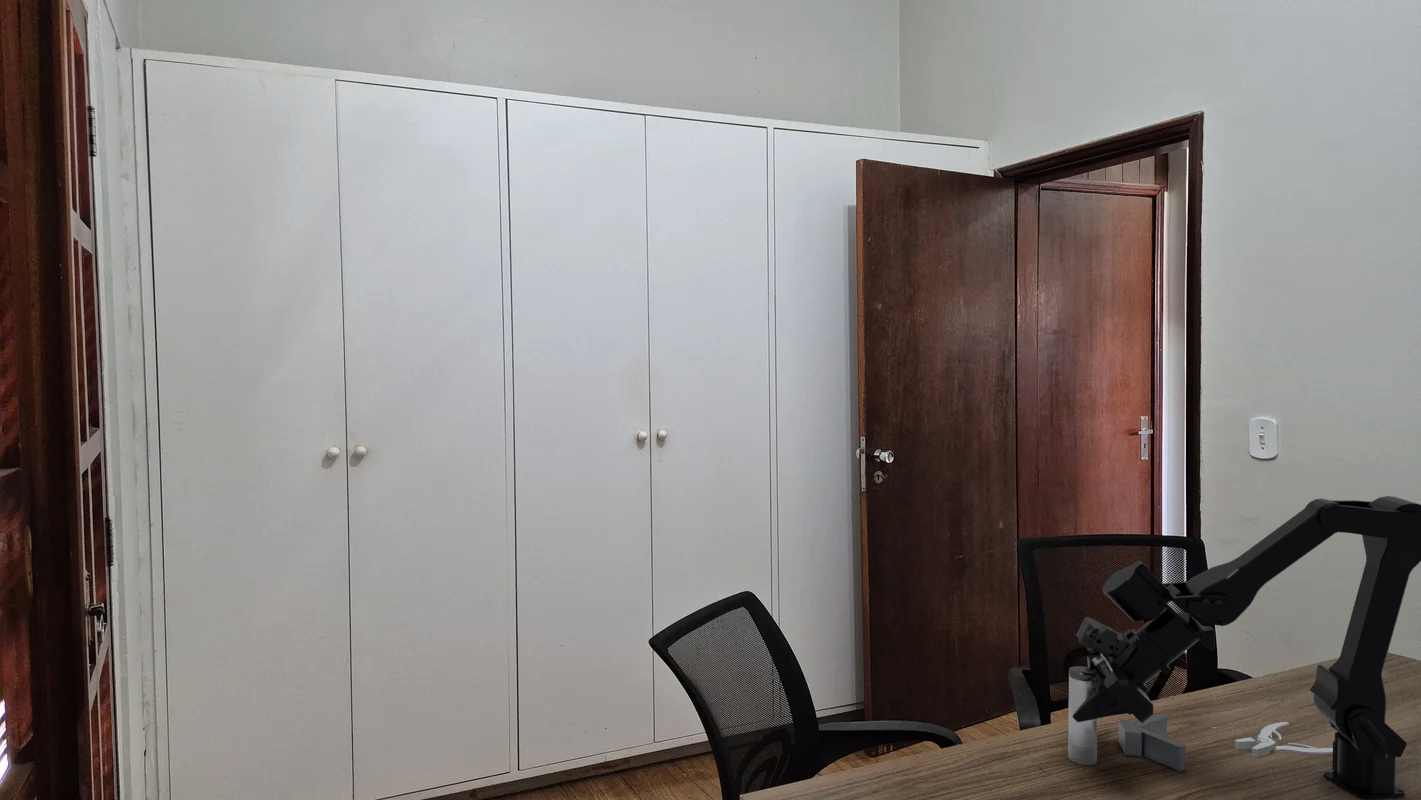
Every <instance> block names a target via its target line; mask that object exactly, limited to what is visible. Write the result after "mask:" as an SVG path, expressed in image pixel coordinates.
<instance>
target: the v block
mask: <svg viewBox="0 0 1421 800" xmlns="http://www.w3.org/2000/svg"><path fill="white" fill-rule="evenodd" d="M1167 730H1168V716H1166V715H1165V714H1164V715H1163V714H1161V713H1158V714H1156V715H1152V716H1151V717H1150V718H1148V719H1147V720H1146V721H1145V722H1143V723H1141V722H1140V721H1139V720H1138V721H1135V720H1129V719H1118V743H1119V746H1120V747H1121V750H1122V752H1123V754H1124V756H1130V757H1139V758H1140V757H1145V758H1146V759H1149V760H1152V761H1153V762H1156V763H1159V764H1162V765H1163V766H1166V767H1168V768H1171V769H1172V770H1175V771H1177V772H1183V771H1185V770H1186V745H1185V744H1183V743H1181V742H1178V741H1175V740H1173V739H1170V738H1167V737H1168V736H1167V735H1168V733H1167V732H1168V731H1167Z"/></svg>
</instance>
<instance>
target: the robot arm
mask: <svg viewBox="0 0 1421 800" xmlns="http://www.w3.org/2000/svg"><path fill="white" fill-rule="evenodd" d="M1336 533H1345V534H1354V535H1360V536H1362V542H1363V547H1364V552H1365V556H1366V557H1365V564H1364V567H1363V571H1362V576H1361V579H1360V582H1359V586H1358V589H1357V594H1356V597H1355V601H1354V604H1353V607H1352V612H1351V615H1350V619H1349V623H1348V626H1347V630H1346V633H1345V637H1344V640H1343V645H1342V648H1341V651H1340V655H1339V657H1338V659H1337V660H1336V661H1335V662H1334V663H1333V664H1332V665H1331V666H1330V667H1326V666H1324V665H1322V664H1318V665H1317V668H1316V675H1315V680H1314V683H1313V685H1312V686H1311V687H1310V688H1309V691H1310V692H1311V693H1312V694H1313V701H1314V706H1316V708H1317V710H1318V711H1319V712H1320V714H1321V715H1323V717H1325V718H1326V720H1328V722H1329V725H1330V727H1331V728H1332V729H1334V730H1335V731H1336V732H1334V740H1333V741H1332V748H1333V754H1332V761H1331V762H1332V764H1331V765H1332V768H1331V769H1332V770H1333V771H1323V777H1324V778H1326V779H1327V780H1329V781H1331V782H1332V783H1334V784H1336V785H1338V786H1339V787H1341V788H1343V789H1345V790H1346V791H1347V792H1349V793H1351V794H1353V795H1355V796H1357V797H1358V798H1360V799H1362V800H1363V799H1365V800H1368V799H1369V800H1370V799H1382V798H1397V797H1405V796H1406V791H1405V790H1403V789H1401V788H1400V787H1397V786H1396V782H1395V781H1396V758H1401V757H1402V755H1403V753H1404V751H1405V749H1406V747H1407V742H1406V741H1405V740H1404V739H1403V738H1402V737H1401V736H1399V733H1397V732H1396V731H1395V730H1394V729H1392V728H1391V727H1390V726H1389V725H1388V724H1387V723H1386V716H1387V715H1386V713H1387V696H1386V691H1385V685H1384V679H1383V670H1384V667H1385V663H1386V660H1387V656H1388V653H1389V650H1390V646H1391V642H1392V638H1393V634H1394V631H1395V627H1396V624H1397V622H1398V621H1397V620H1398V618H1399V614H1400V609H1401V606H1402V603H1403V600H1404V596H1405V593H1406V588H1407V585H1408V581H1409V578H1410V575H1411V572H1412V571H1413V569H1415V568H1416V567H1417V566H1418V565H1419V564H1420V563H1421V504H1420V503H1416V502H1413V501H1410V500H1408V499H1403V498H1400V497H1397V496H1392V495H1391V496H1389V495H1385V496H1382V497H1381V496H1379V497H1378V498H1376V499H1374V500H1371V501H1368V500H1353V499H1352V500H1346V499H1345V500H1343V499H1342V500H1333V499H1328V498H1327V499H1325V498H1317V499H1313V500H1312V501H1310V502H1308V503H1307V504H1306V506H1305V507H1304V508H1303V509H1302V510H1301V511H1299V512H1298V513H1297V514H1295V515H1294V516H1293V517H1291V518H1290V519H1288V520H1286V521H1285V522H1284V523H1283V524H1282V525H1280V526H1279V527H1277V528H1276V529H1275V530H1273V531H1271V532H1270V533H1269V534H1268V535H1267V536H1265V537H1264V538H1263V539H1261V540H1260V541H1258V542H1257V543H1256V544H1254V545H1253V546H1252V547H1250V548H1249V549H1247V550H1246V551H1245V552H1243V553H1242V554H1241V555H1240V556H1238V557H1236V558H1235V559H1233V560H1231V561H1229V562H1225V563H1222V564H1219V565H1216V566H1213V567H1210V568H1208V569H1207V570H1204V571H1203V572H1200V573H1198V574H1196V575H1194V576H1192V577H1191V578H1190V579H1189V580H1187V581H1175V582H1164V583H1163V582H1161V581H1160V580H1159V579H1158V578H1157V577H1155V575H1153V573H1152V571H1150V569H1149V568H1148V567H1147V566H1146V565H1145V564H1144V563H1143V562H1142V561H1141V560H1137V561H1135V563H1133V564H1131V565H1127V566H1126V567H1123V568H1122V569H1120V570H1116V571H1115V572H1114V573H1112V575H1111V576H1109V577H1108V579H1107V580H1106V581H1105V583H1104V584H1103V586H1102V590H1101V591H1102V592H1103V594H1104V595H1105V596H1106V597H1108V598H1109V599H1110V601H1112V602H1113V603H1114V605H1116V606H1117V607H1118V608H1119V609H1120V610H1121V612H1123V614H1126V616H1127V617H1128V618H1129V619H1130V620H1131V621H1133V622H1139V621H1142V622H1143V623H1145V624H1144V625H1143V626H1142V627H1140V628H1139V629H1138V630H1137V631H1135V630H1134V629H1133V628H1131V629H1127V630H1126V631H1124V632H1123V633H1121V632H1118V631H1117V630H1115V629H1113V628H1112V627H1110V626H1108V625H1106V624H1104V623H1101V622H1099V621H1098V620H1095V619H1093V618H1091V617H1089V616H1085V617H1084V619H1083V620H1082V623H1081V624H1080V627H1079V629H1078V630H1077V632H1076V633H1075V636H1076V637H1077V638H1078V643H1080V644H1081V645H1082V646H1084V647H1086V650H1087V652H1088V653H1090V654H1093V655H1094V656H1095V657H1093V659H1092V657H1090V656H1089V655H1087V656H1086V660H1087V667H1088V668H1092V669H1094V670H1096V671H1097V672H1098V675H1096V689H1095V691H1094V692H1093V693H1092V694H1091V695H1090V696H1089V697H1088V698H1087V699H1086V700H1085V702H1084V703H1083V704H1082V705H1081V706H1080V707H1079V708H1078V709H1077V711H1076V712H1075V713H1074V714H1073V718H1074V719H1075V720H1076V721H1077V722H1083V721H1088V720H1092V719H1097V720H1098V719H1101V718H1106V717H1111V716H1114V717H1115V716H1118V715H1127V714H1128V715H1129V716H1134V717H1135V718H1136V719H1137V720H1138V721H1140V722H1141V723H1143V722H1145V721H1146V720H1147V719H1148V718H1150V717H1152V716H1154V704H1153V703H1152V701H1151V700H1150V698H1149V696H1148V695H1147V694H1146V693H1145V692H1146V691H1147V690H1148V686H1147V685H1146V684H1147V683H1149V681H1150V680H1152V679H1153V678H1154V677H1156V676H1157V675H1158V674H1159V673H1161V672H1162V673H1163V674H1164V675H1165V676H1166V675H1167V674H1168V673H1169V672H1171V671H1172V669H1171V668H1170V666H1169V665H1171V663H1173V662H1174V661H1175V660H1177V659H1178V658H1179V657H1180V656H1181V655H1182V654H1184V653H1185V652H1186V651H1188V650H1189V649H1190V648H1191V647H1193V646H1194V645H1195V644H1197V642H1199V641H1200V642H1201V643H1202V644H1203V645H1204V646H1205V647H1206V648H1207V649H1208V650H1209V651H1212V652H1213V651H1215V650H1216V644H1215V635H1216V631H1215V630H1214V629H1213V627H1211V626H1210V625H1212V626H1221V627H1224V626H1229V625H1230V624H1232V623H1234V622H1235V621H1236V620H1237V619H1238V618H1239V617H1240V616H1241V615H1242V614H1243V613H1244V612H1245V611H1247V609H1248V608H1249V607H1250V606H1251V605H1252V603H1253V601H1254V600H1255V598H1256V596H1257V595H1258V593H1259V591H1260V590H1261V589H1262V588H1263V586H1265V584H1267V583H1269V582H1270V581H1271V580H1272V579H1274V578H1275V577H1276V576H1278V575H1280V574H1281V573H1282V572H1285V570H1286V569H1288V568H1289V567H1290V566H1292V565H1293V564H1295V563H1296V562H1298V561H1299V560H1301V559H1302V558H1304V556H1305V555H1307V554H1309V553H1310V552H1311V551H1313V550H1314V549H1316V548H1317V547H1318V546H1320V545H1321V544H1322V543H1324V542H1325V541H1327V540H1328V539H1329V538H1331V537H1332V536H1333V535H1334V534H1336ZM1170 602H1172V603H1173V604H1174V605H1176V606H1177V607H1178V609H1180V610H1181V611H1180V612H1177V611H1176V610H1175V609H1174V608H1173V607H1171V605H1170V604H1169V603H1170ZM1192 615H1195V616H1197V617H1199V618H1200V619H1201V620H1202V621H1203V622H1205V623H1207V624H1209V625H1205V626H1204V625H1202V624H1201V623H1199V621H1197V620H1196V619H1195V618H1194V617H1193V616H1192ZM1067 706H1068V707H1069V702H1068V704H1067Z"/></svg>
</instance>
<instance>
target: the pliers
mask: <svg viewBox="0 0 1421 800" xmlns="http://www.w3.org/2000/svg"><path fill="white" fill-rule="evenodd" d="M1288 726H1290V722H1288V721H1282V722H1275V723H1271V724H1268V725H1266V726H1264V727H1263V728H1262V729H1261V730H1260V734H1259V733H1258V735H1257V739H1256V740H1255V739H1254V738H1252V737H1244V738H1238V739H1235V740H1234V748H1235V749H1236V750H1251V757H1253V758H1261V757H1264V756H1267V755H1270V754H1271V753H1272V752H1274V753H1278V752H1279V753H1282V752H1285V753H1294V754H1300V755H1308V756H1309V755H1310V756H1311V755H1313V756H1314V755H1315V756H1320V755H1321V756H1324V755H1333V747H1320V748H1319V747H1314V746H1310V745H1306V744H1301V743H1296V742H1294V743H1293V742H1287V745H1277V742H1276V741H1275V740H1273V736H1272V735H1274V736H1276V737H1277V738H1278V742H1279V743H1281V742H1282V735H1281V734H1280V733H1279V732H1278V730H1280V729H1283V728H1285V727H1288Z"/></svg>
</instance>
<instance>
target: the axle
mask: <svg viewBox="0 0 1421 800" xmlns="http://www.w3.org/2000/svg"><path fill="white" fill-rule="evenodd" d="M1096 675H1098V672H1097V671H1096V670H1094V669H1092V668H1088V666H1083V665H1082V666H1080V665H1079V666H1078V665H1077V666H1076V665H1075V666H1071V667H1069V668H1068V703H1069V706H1068V748H1067V749H1068V752H1067V753H1068V754H1067V755H1068V756H1067V757H1068V758H1069V760H1070V761H1071V762H1073V763H1076V764H1079V765H1082V766H1084V765H1085V766H1092V765H1095V764H1096V763H1097V762H1098V718H1097V719H1092V720H1088V721H1083V722H1077V721H1076V720H1075V719H1074V718H1073V714H1074V713H1075V712H1076V711H1077V709H1078V708H1079V707H1080V706H1081V705H1082V704H1083V703H1084V702H1085V700H1086V699H1087V698H1088V697H1089V696H1090V695H1091V694H1092V693H1093V692H1094V691H1095V689H1096Z"/></svg>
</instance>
